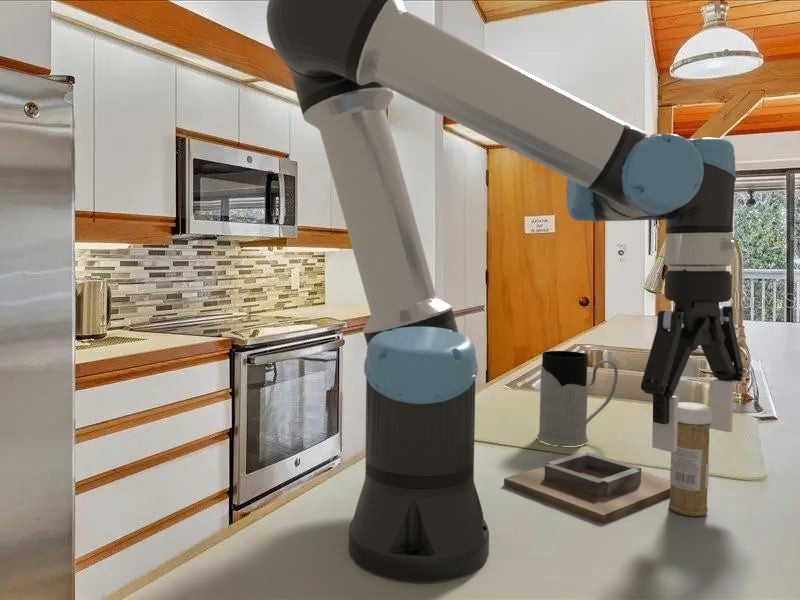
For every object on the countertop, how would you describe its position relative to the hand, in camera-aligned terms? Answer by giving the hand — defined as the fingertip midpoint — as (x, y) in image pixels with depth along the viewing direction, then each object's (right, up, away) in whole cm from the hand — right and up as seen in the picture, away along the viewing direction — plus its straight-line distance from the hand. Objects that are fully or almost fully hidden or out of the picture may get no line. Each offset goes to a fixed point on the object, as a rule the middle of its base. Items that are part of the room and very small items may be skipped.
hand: (693, 439), depth 82 cm
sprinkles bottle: (-1, -9, +1) cm, 9 cm away
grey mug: (-6, -7, +32) cm, 33 cm away
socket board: (-10, -8, +8) cm, 16 cm away
